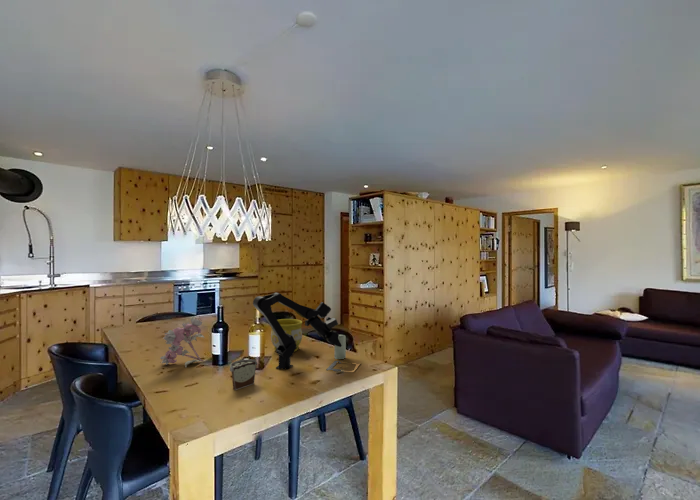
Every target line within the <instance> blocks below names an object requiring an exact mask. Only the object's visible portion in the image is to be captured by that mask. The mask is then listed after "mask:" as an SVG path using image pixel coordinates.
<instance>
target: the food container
mask: <svg viewBox="0 0 700 500" xmlns="http://www.w3.org/2000/svg"><path fill="white" fill-rule="evenodd" d="M257 362H258V361H257V360H256V359H251V358H250V359H249V358H248V359H239V360H235V361H233V362H231V363H230V366H229V371H230V372H231V379H232V389H233V390H234V391H237V390H240V389H243V388H246V387H248V386H252V385H254V384H255V380H256V366H258V363H257Z"/></svg>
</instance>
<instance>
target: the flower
mask: <svg viewBox="0 0 700 500" xmlns="http://www.w3.org/2000/svg"><path fill="white" fill-rule="evenodd" d="M200 318H201V316H200V315H199V317H198V318H196V317H195V318H194V317H192V318H191V319H190V321H188V322H183V323H182V327H179V326H178V327H175V328H173V329H172V330H171V329H169V330H168V331H167V332H164V337H162V338H163V340H165V344H166V345H170V346H168V350H167V351H166V352H165V355H162V356H160V358H159V359H160V360H161V361H160V362H159V363H160V364H161V365H162V364H165V366H167V365H169V364H176V362H177V359H176V358H177V357H178V356H182V357H188V358H191V360H187V361H185V362H184V366H185V368H187V366H188V365H190V364H193V363H195V362H196V363H197V362H204V360H203V359H201V357H200V355H199V354H198V352H197V350H196V349H195V347H194V345H193V343H192V342H193V341H196V342H198V341H197V340H198V339H197V338H203V339H205V336H204V335H203V334H202V330H201V327H200V326H201V325H202V323H203V322H202V321H203V319H200ZM194 333H196V334H194ZM182 341H184V342H185V343H187V344H188V346H189V347H190V348H191V349H192V352H194V355H195V356H193V355H191V354H190V352H189V351H188V350H187V349H185V346H182V344H181V342H182Z"/></svg>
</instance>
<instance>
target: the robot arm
mask: <svg viewBox="0 0 700 500" xmlns="http://www.w3.org/2000/svg"><path fill="white" fill-rule="evenodd" d="M276 303H279V304H281V305H283V306H285V307H287V308H289V309H290V310H293V311H294V312H295V313H296V314H297V315H298V316H300V317H301V318H304V319H305V320H304V326H306V327H309V326H311V327H312V328H313V329H314V331H316V334H317V335H318V336H319V337H320V338H322V339H324V340H325V341H327V342H328V343H329V344H330V345H334V346H335V345H336V346H339V347H341V346H342V345H341V343H340V341H339V340H338V336H339V335H340V334H339V333H338V332H337V331H336V330H333V328H334V327H335V326H338V325H339V323H338V320H337V318H336V317H335V318H334V317H330V316H328V314H329V313H330V312H331V311H332V308H331V307H330V306H329V305H328V304H326V303H324V301H323V302H322V301H321V302H320V303H319V305H318V306H317V307H316V308H315V309H314V308H311V307H309V306H305V305H301V304H299V303H297V302H296V301H294V300H292V299H290V298H289V297H286V296H284V295H283V294H282V293H279V292H273V293H271V294H267V295H263V296H255V298H253V300H252V305H253V307H254V308H255V309H256V310H257V311H258V312H259V313H260V314H261V315H263V316H264V319H265V320H266V321H267V323H268V325H269V326H270V327H271V330H272V329H273V331H274V332H275V334H276V335H277V337H278V340H279V344H280V345H279V347H278V348H277V349H276V351H275V352H276V354H277V355H278V366H276V367H275V369H276V370H283V371H284V370H285V371H288V370H290V369H291V368H293V367H294V365H293V364H291V357H293V356H294V353H295V352H296V351H295V349H296V343H295V342H296V341H295V340H294V338H293V336H292V335H290V334H288V333H287V334H286V333H285V331H284V330H283V328H282V327H281V325H280V323H279V322H278V320H279V319H277V317H276V316H275V314H274V313H273V310H272V306H273V305H275V304H276ZM327 316H328V317H327ZM325 318H326V320H325V321H324V320H322V319H325ZM294 351H295V352H294Z"/></svg>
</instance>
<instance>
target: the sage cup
mask: <svg viewBox="0 0 700 500" xmlns="http://www.w3.org/2000/svg"><path fill="white" fill-rule="evenodd" d="M338 340H339V341H340V343H341V345H342V346H341V347H339V346H336V345H334V355H333V356H334V358H335V359H334V360H336V359H344V358H346V357H347V356H346V352H347V351H346V350H347V349H346V348H347V344H346V342H347V341H346V340H347V337H346V335H345V334H339V336H338ZM344 360H345V359H344Z"/></svg>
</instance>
